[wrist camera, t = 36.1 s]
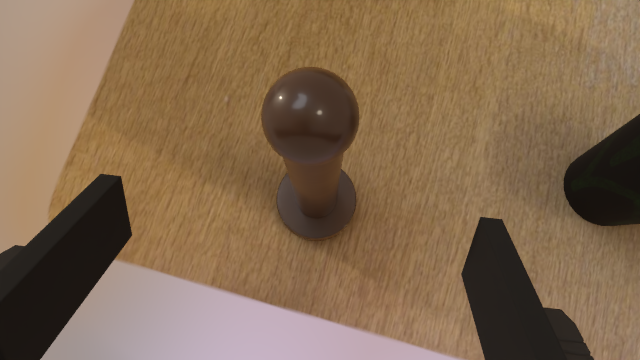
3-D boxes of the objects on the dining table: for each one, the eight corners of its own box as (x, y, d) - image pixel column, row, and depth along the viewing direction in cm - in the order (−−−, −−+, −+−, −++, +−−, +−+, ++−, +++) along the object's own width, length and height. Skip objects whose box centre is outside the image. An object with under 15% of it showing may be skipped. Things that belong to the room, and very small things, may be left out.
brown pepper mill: (268, 228, 31) (199, 150, 14) (292, 157, 33) (255, 4, 15) (342, 250, 31) (368, 200, 13) (363, 178, 32) (412, 44, 15)
